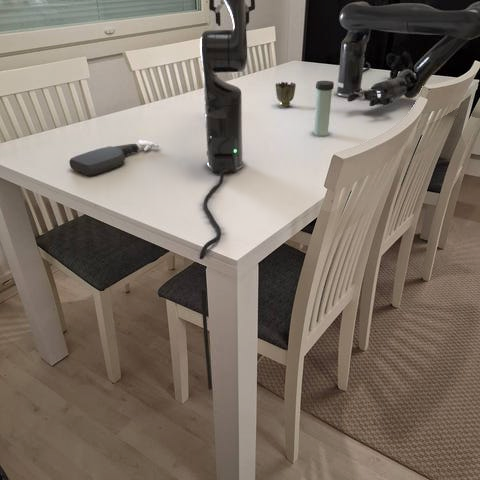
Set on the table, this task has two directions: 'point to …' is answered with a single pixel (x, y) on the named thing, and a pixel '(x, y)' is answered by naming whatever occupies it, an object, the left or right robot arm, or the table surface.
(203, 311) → the left robot arm
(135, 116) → the table surface
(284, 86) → the cup
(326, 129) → the jar
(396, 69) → the squiggle
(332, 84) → the lid
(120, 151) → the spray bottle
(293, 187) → the table surface
